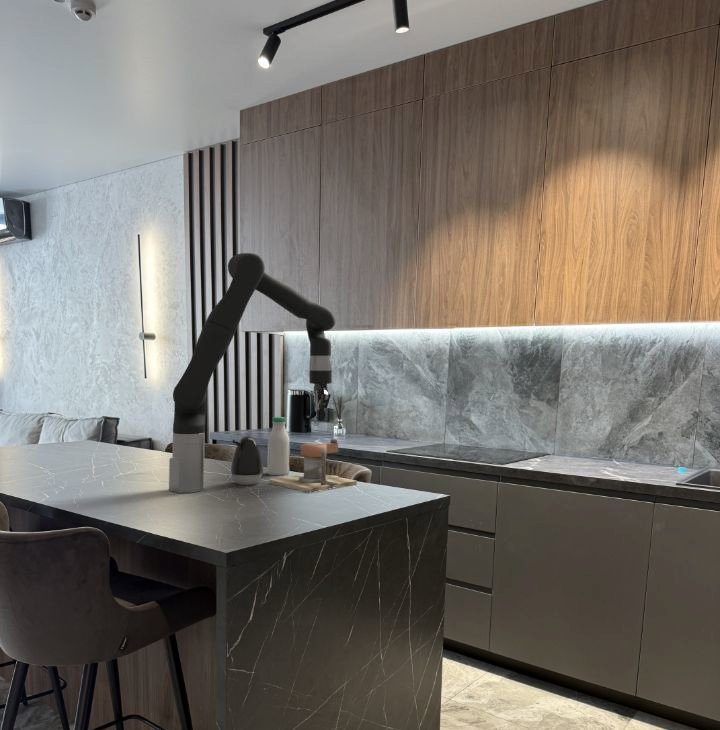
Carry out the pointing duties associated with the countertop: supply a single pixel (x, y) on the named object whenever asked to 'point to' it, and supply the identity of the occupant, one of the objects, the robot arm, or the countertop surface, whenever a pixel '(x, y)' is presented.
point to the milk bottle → (278, 448)
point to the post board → (309, 486)
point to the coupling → (318, 449)
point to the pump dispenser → (246, 462)
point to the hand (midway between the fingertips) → (320, 421)
